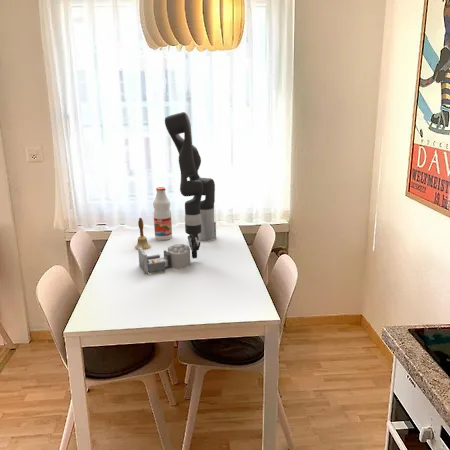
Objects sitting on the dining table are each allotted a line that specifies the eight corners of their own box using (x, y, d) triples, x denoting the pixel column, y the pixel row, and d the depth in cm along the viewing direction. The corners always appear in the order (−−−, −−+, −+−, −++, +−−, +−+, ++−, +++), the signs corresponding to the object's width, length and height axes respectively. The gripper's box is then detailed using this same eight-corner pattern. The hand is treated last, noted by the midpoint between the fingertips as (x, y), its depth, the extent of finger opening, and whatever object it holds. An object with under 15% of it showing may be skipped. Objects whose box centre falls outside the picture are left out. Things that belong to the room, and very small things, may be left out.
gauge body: (159, 262, 236) (158, 244, 233) (166, 272, 224) (165, 253, 221) (139, 265, 233) (138, 247, 230) (145, 275, 221) (144, 256, 218)
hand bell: (149, 250, 253) (147, 220, 249) (133, 250, 254) (130, 220, 249) (152, 244, 261) (150, 215, 257) (136, 244, 261) (134, 215, 257)
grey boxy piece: (166, 262, 234) (166, 250, 233) (172, 270, 225) (172, 257, 223) (147, 265, 231) (146, 253, 229) (153, 273, 221) (152, 260, 220)
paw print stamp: (189, 258, 240) (189, 241, 238) (191, 268, 228) (190, 250, 225) (168, 259, 239) (167, 242, 237) (168, 269, 227) (167, 251, 224)
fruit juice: (175, 236, 275) (172, 186, 267) (167, 241, 266) (164, 190, 258) (160, 234, 278) (156, 185, 270) (152, 239, 269) (148, 189, 261)
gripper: (205, 225, 226) (206, 261, 231) (196, 218, 238) (197, 252, 243) (189, 227, 223) (191, 263, 228) (181, 220, 235) (183, 254, 240)
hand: (194, 257), depth 235 cm, fingers closed
